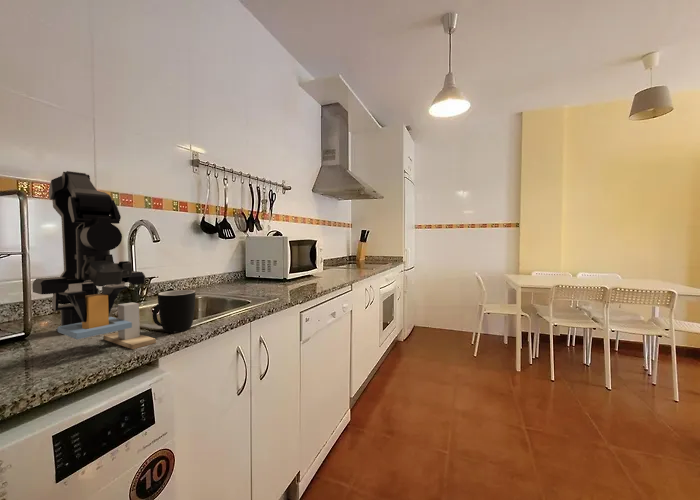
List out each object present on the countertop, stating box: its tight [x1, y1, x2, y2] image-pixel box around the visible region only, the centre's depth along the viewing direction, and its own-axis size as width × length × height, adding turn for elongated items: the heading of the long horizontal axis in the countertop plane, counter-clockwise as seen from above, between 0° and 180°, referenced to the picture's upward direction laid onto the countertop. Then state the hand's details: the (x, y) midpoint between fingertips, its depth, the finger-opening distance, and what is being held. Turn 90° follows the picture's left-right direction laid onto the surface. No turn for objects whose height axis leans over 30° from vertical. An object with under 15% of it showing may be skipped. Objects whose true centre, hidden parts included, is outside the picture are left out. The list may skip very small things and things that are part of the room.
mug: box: [152, 289, 196, 333], centre depth 84 cm, size 12×9×10 cm
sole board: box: [103, 331, 157, 350], centre depth 76 cm, size 14×5×1 cm, turn 59°
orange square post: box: [82, 293, 110, 329], centre depth 70 cm, size 4×4×8 cm
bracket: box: [57, 302, 141, 340], centre depth 71 cm, size 10×13×8 cm
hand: (95, 319), depth 70 cm, fingers closed on orange square post, 4 cm apart
